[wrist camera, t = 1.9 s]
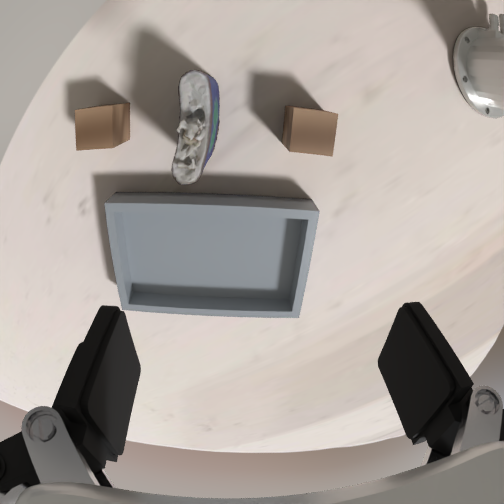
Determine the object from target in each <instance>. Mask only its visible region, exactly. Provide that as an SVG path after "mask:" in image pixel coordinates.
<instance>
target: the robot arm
mask: <svg viewBox="0 0 504 504" xmlns="http://www.w3.org/2000/svg"><path fill="white" fill-rule="evenodd" d="M489 23H490V28H488V29H485V28H482V27H471V28H468V29H466V30H464V31H463V32H462V33H461V34H460V35H459V36H458V38H457V40H456V43H455V47H454V54H453V62H454V70H455V75H456V79H457V82H458V85H459V88H460V90H461V92H462V94H463V96H464V97H465V99H466V101H467V102H468V103H469V105H470V106H471V107H472V108H473V109H474V110H475V111H477V112H478V113H479V114H481V115H483V116H486V117H489V118H500V117H502V116H504V14H499V20H498V16H497V15H495V14H489ZM498 26H500V31H498ZM378 367H379V369H380V372H381V374H382V376H383V379H384V381H385V383H386V386H387V388H388V391H389V393H390V395H391V398H392V400H393V403H394V405H395V408H396V410H397V413H398V415H399V418H400V420H401V423H402V425H403V428H404V430H405V433H406V435H407V437H408V438H409V439H411V440H412V443H413V445H415V444H418V443H421V442H424V441H426V440H427V443H428V448H427V451H426V454H425V456H424V459H423V461H422V464H421V466H420V467H418V468H415V469H412V470H409V471H405V472H402V473H399V474H396V475H392V476H389V477H385V478H381V479H378V480H374V481H370V482H366V483H361V484H357V485H352V486H348V487H343V488H337V489H333V490H327V491H320V492H313V493H306V494H299V495H290V496H278V497H264V498H243V499H242V498H241V499H218V498H215V499H214V498H192V497H178V496H168V495H158V494H150V493H142V492H136V491H129V490H123V489H117V488H115V486H114V484H113V483H112V481H111V480H110V478H109V477H108V475H107V473H106V472H105V470H104V468H105V464H106V460H109V461H114V462H117V457H118V455H122V453H123V451H124V446H125V441H126V436H127V431H128V426H129V421H130V416H131V412H132V407H133V403H134V398H135V394H136V390H137V385H138V381H139V377H140V372H141V367H140V363H139V359H138V356H137V353H136V350H135V347H134V343H133V340H132V337H131V333H130V330H129V326H128V323H127V319H126V315H125V313H124V311H120V309H119V307H117V306H103V305H102V306H101V307H100V308H99V310H98V312H97V314H96V316H95V318H94V321H93V323H92V325H91V327H90V329H89V331H88V333H87V335H86V337H85V340H84V342H81V343H80V344H79V345H78V347H77V349H76V351H75V353H74V355H73V358H72V360H71V362H70V364H69V367H68V369H67V371H66V374H65V376H64V378H63V381H62V383H61V386H60V388H59V390H58V393H57V395H56V398H55V401H54V403H53V406H52V408H50V407H48V406H40V407H36V408H34V409H32V410H31V411H29V412H28V413H27V414H26V416H25V417H24V419H23V422H22V431H21V432H19V433H18V434H16V435H14V436H12V437H10V438H8V439H6V440H4V441H2V442H0V504H504V409H503V404H502V400H501V397H500V396H499V394H498V393H497V392H496V391H495V390H494V389H492V388H490V387H488V386H479V387H477V388H475V390H472V388H471V387H472V385H473V382H472V380H471V378H470V377H469V375H468V373H467V372H466V370H465V369H464V367H463V365H462V364H461V362H460V360H459V359H458V357H457V356H456V354H455V353H454V351H453V349H452V348H451V346H450V345H449V343H448V342H447V340H446V339H445V337H444V336H443V334H442V333H441V331H440V330H439V328H438V327H437V325H436V324H435V323H434V321H433V320H432V318H431V317H430V315H429V314H428V312H427V311H426V310H425V308H424V307H423V305H422V304H421V303H420V302H410V303H404V304H403V306H402V307H401V308H399V310H398V312H397V315H396V317H395V320H394V322H393V325H392V327H391V330H390V332H389V335H388V337H387V340H386V342H385V344H384V347H383V349H382V351H381V354H380V356H379V358H378Z"/></svg>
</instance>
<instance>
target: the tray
mask: <svg viewBox="0 0 504 504" xmlns="http://www.w3.org/2000/svg"><path fill="white" fill-rule="evenodd" d="M104 204H105V212H106V220H107V228H108V235H109V242H110V248H111V254H112V260H113V266H114V272H115V277H116V282H117V287H118V292H119V297H120V301H121V306H122V310H130V311H142V312H155V313H169V314H185V315H204V316H227V317H262V318H299V315H300V310H301V306H302V301H303V296H304V291H305V286H306V282H307V277H308V271H309V266H310V261H311V256H312V251H313V245H314V240H315V234H316V229H317V223H318V217H319V210H318V208H317V207H316V205H315V204H314V202H313V200H312V199H299V198H285V197H270V196H252V195H232V194H207V193H166V192H116V193H115V194H114V195H113V196H112V197H110V198H109V199H108V200H107V201H106V202H105V203H104Z"/></svg>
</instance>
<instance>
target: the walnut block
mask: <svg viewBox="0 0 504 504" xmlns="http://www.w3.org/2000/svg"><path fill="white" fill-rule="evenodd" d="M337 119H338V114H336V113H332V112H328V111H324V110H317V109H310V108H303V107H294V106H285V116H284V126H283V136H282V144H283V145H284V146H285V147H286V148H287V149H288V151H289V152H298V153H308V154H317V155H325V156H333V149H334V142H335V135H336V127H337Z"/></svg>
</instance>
